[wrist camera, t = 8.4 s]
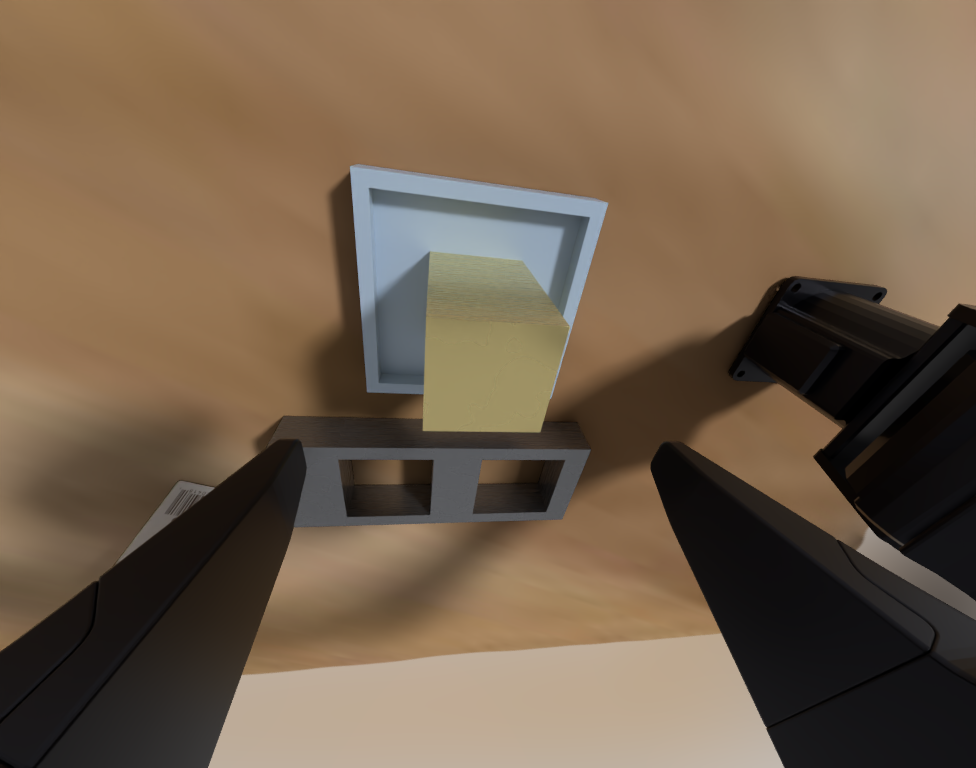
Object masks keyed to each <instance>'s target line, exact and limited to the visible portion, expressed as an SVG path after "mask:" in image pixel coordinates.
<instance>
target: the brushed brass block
mask: <svg viewBox="0 0 976 768" xmlns="http://www.w3.org/2000/svg"><path fill="white" fill-rule="evenodd" d="M569 329H570V326H569V324H568V323H567V322H566V320H565V319H564V317H563V316H562V315H561V313H560V312H559V311H558V309H557V308H556V306H555V305H554V304H553V302H552V301H551V299H550V298H549V297H548V295H547V294H546V293H545V291H544V290H543V288H542V287H541V286H540V284H539V283H538V281H537V280H536V279H535V277H534V276H533V275H532V273H531V272H530V270H529V269H528V268H527V266H526V265H525V263H524V262H523V261H522V260H512V259H502V258H492V257H482V256H472V255H462V254H452V253H442V252H432V251H430V257H429V274H428V292H427V309H426V334H425V368H424V402H423V431H464V432H541V428H542V425H543V421H544V418H545V414H546V411H547V407H548V403H549V400H550V396H551V393H552V389H553V386H554V382H555V379H556V375H557V372H558V368H559V365H560V361H561V358H562V354H563V350H564V347H565V343H566V340H567V336H568V333H569Z"/></svg>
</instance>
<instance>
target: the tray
mask: <svg viewBox="0 0 976 768" xmlns="http://www.w3.org/2000/svg"><path fill="white" fill-rule="evenodd" d="M350 173H351V186H352V200H353V213H354V226H355V239H356V252H357V266H358V279H359V292H360V305H361V318H362V332H363V345H364V358H365V371H366V384H367V392H372V393H401V394H424V368H425V334H426V309H427V292H428V274H429V257H430V251H432V252H442V253H452V254H462V255H472V256H482V257H492V258H502V259H512V260H522V261H523V262H524V263H525V265H526V266H527V268H528V269H529V270H530V272H531V273H532V275H533V276H534V277H535V279H536V280H537V281H538V283H539V284H540V286H541V287H542V288H543V290H544V291H545V293H546V294H547V295H548V297H549V298H550V299H551V301H552V302H553V304H554V305H555V306H556V308H557V309H558V311H559V312H560V313H561V315H562V316H563V317H564V319H565V320H566V322H567V323H568V324H569V326H570V329H569V333H568V336H567V340H566V343H565V347H564V350H563V354H562V358H561V361H560V365H559V368H558V372H557V375H556V379H555V382H554V386H553V389H552V393H551V396H550V399H551V397H552V394H553V390H554V387H555V384H556V380H557V377H558V373H559V370H560V367H561V363H562V360H563V356H564V353H565V349H566V346H567V343H568V339H569V336H570V332H571V329H572V325H573V322H574V319H575V315H576V312H577V308H578V305H579V301H580V298H581V295H582V291H583V288H584V284H585V281H586V278H587V274H588V271H589V267H590V264H591V260H592V257H593V254H594V250H595V247H596V243H597V240H598V236H599V233H600V230H601V226H602V223H603V219H604V216H605V212H606V209H607V206H608V203H607V202H604V201H601V200H598V199H596V198H590V197H583V196H576V195H569V194H562V193H555V192H548V191H542V190H535V189H528V188H521V187H514V186H507V185H500V184H493V183H486V182H479V181H472V180H465V179H458V178H451V177H444V176H437V175H430V174H423V173H416V172H410V171H403V170H396V169H389V168H382V167H375V166H368V165H361V164H356V165H353V166H350Z"/></svg>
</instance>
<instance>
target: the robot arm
mask: <svg viewBox="0 0 976 768" xmlns="http://www.w3.org/2000/svg"><path fill="white" fill-rule="evenodd" d="M792 287H793V288H792ZM886 293H887V289H886V288H883V287H880V286H877V285H869V284H860V283H851V282H842V281H834V280H825V279H816V278H807V277H799V276H793V277H790V278H788V279H787V280H786V281H785V282H784V283H783V284H782V286H781V288H780V289H779V291H778V292H777V294H776V296H775V297H774V299H773V301H772V302H771V304H770V305H769V307H768V309H767V310H766V312H765V314H764V315H763V317H762V318H761V320H760V322H759V323H758V325H757V327H756V328H755V330H754V331H753V333H752V335H751V336H750V338H749V340H748V341H747V343H746V345H745V346H744V348H743V349H742V351H741V353H740V354H739V356H738V358H737V359H736V361H735V362H734V364H733V366H732V367H731V369H730V371H729V376H730V377H731V378H733V379H734V380H736V381H755V382H775V383H779V384H780V385H782V386H783V387H784V388H786V389H787V390H789V391H790V392H791V393H793V394H794V395H796V396H797V397H799V398H800V399H801V400H803V401H804V402H806V403H807V404H808V405H810V406H811V407H813V408H814V409H816V410H817V411H818V412H820V413H821V414H823V415H824V416H825V417H827V418H828V419H830V420H831V421H833V422H834V423H835V424H837V425H838V426H840V427H841V428H842V430H841V431H840V432H839V433H838V434H837V435H836V436H835V437H834V438H833V439H832V440H831V441H830V442H829V443H828V444H827V446H826V447H825V448H824V449H820V450H819V451H818V452H817V453H816V454H815V455H814V456H813V457H814V459H815V460H816V461H817V463H818V464H819V465H820V466H821V468H822V469H823V470H824V471H825V473H826V474H827V475H828V476H829V478H830V479H831V480H832V481H833V483H834V484H835V485H836V486H837V488H838V489H839V490H840V491H841V493H842V494H843V495H844V496H845V498H846V499H847V500H848V501H849V503H850V504H851V505H852V506H853V508H854V509H855V510H856V511H857V513H858V514H859V515H860V516H861V518H862V519H863V520H864V521H865V522H866V524H867V525H868V526H869V527H870V528H871V530H872V531H873V532H874V533H875V534H876V535H877V536H878V537H879V538H880V539H882V540H883V541H885V542H887V543H889V544H890V545H892V546H893V547H894V548H896V549H897V550H899V551H900V552H901V553H902V554H903V555H904V556H906V557H908V558H909V559H911V560H913V561H915V562H917V563H918V564H920V565H922V566H924V567H925V568H927V569H929V570H931V571H933V572H934V573H936V574H938V575H939V576H941V577H942V578H944V579H945V580H947V581H948V582H950V583H951V584H953V585H954V586H956V587H957V588H959V589H960V590H961V591H963V592H965V593H966V594H967V595H969V596H970V597H971V598H973V599H974V600H975V601H976V306H973V305H967V304H958V305H957V306H956V307H955V308H954V309H953V310H952V311H951V312H950V313H949V314H948V315H947V316H948V317H949V318H948V319H947V320H946V322H945V323H944V324H943V325H942V326H941V327H939V326H937V325H934V324H931V323H928V322H926V321H923V320H920V319H918V318H915V317H912V316H909V315H907V314H904V313H901V312H899V311H896V310H893V309H890V308H888V307H885V306H882V305H880V304H879V303H880V302H881V301H882V299H883V298H884V297H885V295H886ZM306 471H307V465H306V460H305V455H304V451H303V447H302V443H301V441H300V440H299V439H291V438H282V439H278V440H276V441H275V442H274V443H272V444H271V445H270V446H269V447H267V448H266V449H265V450H263V451H262V452H261V453H260V454H258V455H257V456H256V457H254V458H253V459H252V460H250V461H249V462H248V463H247V464H245V465H244V466H243V467H241V468H240V469H239V470H237V471H236V472H235V473H234V474H232V475H231V476H230V477H228V478H227V479H226V480H225V481H223V482H222V483H221V484H219V485H218V486H217V487H215V488H214V489H213V490H212V491H210V492H209V493H208V494H206V495H205V496H204V497H203V498H201V499H200V500H199V501H197V502H196V503H195V504H193V505H192V506H191V507H190V508H188V509H187V510H186V511H184V512H183V513H182V514H181V515H179V516H178V517H177V518H175V519H174V520H173V521H171V522H170V523H169V524H168V525H166V526H165V527H164V528H162V529H161V530H160V531H159V532H157V533H156V534H155V535H153V536H152V537H151V538H149V539H148V540H147V541H146V542H144V543H143V544H142V545H140V546H139V547H138V548H137V549H135V550H134V551H133V552H131V553H130V554H129V555H127V556H126V557H125V558H124V559H122V560H121V561H120V562H118V563H117V564H116V565H115V566H113V567H112V568H111V569H109V570H108V571H107V572H105V573H104V574H103V575H102V576H100V578H99V581H94V582H92V583H91V584H90V585H88V586H87V587H86V588H84V589H83V590H82V591H81V592H79V593H78V594H77V595H75V596H74V597H73V598H72V599H70V600H69V601H68V602H66V603H65V604H64V605H62V606H61V607H60V608H58V609H57V610H56V611H54V612H53V613H52V614H50V615H49V616H48V617H46V618H45V619H44V620H42V621H41V622H40V623H38V624H37V625H36V626H34V627H33V628H32V629H30V630H29V631H28V632H26V633H25V634H24V635H22V636H21V637H20V638H18V639H17V640H16V641H14V642H13V643H11V644H10V645H9V646H7V647H6V648H4V649H3V650H2V651H0V768H208V766H209V763H210V761H211V758H212V755H213V752H214V749H215V747H216V744H217V741H218V738H219V736H220V733H221V730H222V727H223V725H224V722H225V719H226V716H227V713H228V711H229V708H230V705H231V703H232V700H233V697H234V694H235V692H236V689H237V686H238V683H239V680H240V678H241V675H242V672H243V670H244V667H245V664H246V661H247V659H248V656H249V653H250V650H251V648H252V645H253V642H254V639H255V637H256V634H257V631H258V628H259V626H260V623H261V620H262V617H263V615H264V612H265V609H266V606H267V603H268V601H269V598H270V595H271V592H272V590H273V587H274V584H275V581H276V579H277V576H278V573H279V570H280V568H281V565H282V562H283V559H284V557H285V554H286V551H287V548H288V545H289V542H290V539H291V535H292V531H293V527H294V523H295V519H296V515H297V511H298V506H299V502H300V498H301V494H302V489H303V485H304V481H305V477H306ZM651 472H652V475H653V478H654V481H655V484H656V486H657V489H658V492H659V495H660V497H661V500H662V503H663V506H664V509H665V511H666V514H667V517H668V519H669V522H670V524H671V527H672V529H673V531H674V533H675V536H676V538H677V540H678V542H679V544H680V546H681V548H682V550H683V553H684V555H685V557H686V559H687V561H688V563H689V565H690V567H691V570H692V572H693V574H694V576H695V578H696V580H697V582H698V584H699V587H700V589H701V591H702V593H703V595H704V597H705V599H706V601H707V604H708V606H709V608H710V610H711V612H712V614H713V616H714V618H715V621H716V623H717V625H718V627H719V629H720V631H721V633H722V635H723V637H724V640H725V642H726V644H727V646H728V648H729V650H730V652H731V654H732V657H733V659H734V660H735V663H736V665H737V667H738V669H739V672H740V673H741V676H742V678H743V680H744V682H745V684H746V686H747V689H748V691H749V693H750V695H751V697H752V699H753V701H754V703H755V706H756V708H757V710H758V712H759V714H760V716H761V718H762V720H763V722H764V724H765V726H766V727H767V732H768V734H769V736H770V738H771V740H772V742H773V744H774V747H775V749H776V751H777V753H778V755H779V757H780V759H781V761H782V764H783V766H784V767H785V768H976V620H974V619H972V618H970V617H969V616H967V615H965V614H963V613H962V612H960V611H958V610H956V609H955V608H953V607H951V606H949V605H948V604H946V603H944V602H942V601H941V600H939V599H937V598H935V597H933V596H932V595H930V594H928V593H926V592H925V591H923V590H921V589H920V588H918V587H916V586H914V585H913V584H911V583H909V582H907V581H906V580H904V579H902V578H901V577H898V576H897V575H895V574H894V573H892V572H890V571H889V570H887V569H885V568H884V567H882V566H880V565H878V564H877V563H875V562H874V561H872V560H870V559H869V558H867V557H865V556H864V555H862V554H861V553H859V552H857V551H856V550H854V549H852V548H851V547H849V546H848V545H846V544H844V543H843V542H841V541H839V540H836V539H835V538H834V537H833V536H831V535H830V534H828V533H827V532H825V531H823V530H822V529H820V528H818V527H817V526H815V525H814V524H812V523H810V522H809V521H807V520H806V519H804V518H802V517H801V516H799V515H798V514H796V513H794V512H793V511H791V510H789V509H788V508H786V507H785V506H783V505H781V504H780V503H778V502H777V501H775V500H773V499H772V498H770V497H769V496H767V495H765V494H764V493H762V492H760V491H759V490H757V489H756V488H754V487H752V486H751V485H749V484H748V483H746V482H744V481H743V480H741V479H739V478H738V477H736V476H735V475H733V474H731V473H730V472H728V471H727V470H725V469H723V468H722V467H720V466H719V465H717V464H715V463H714V462H712V461H710V460H709V459H707V458H706V457H704V456H702V455H701V454H699V453H698V452H696V451H694V450H693V449H691V448H690V447H688V446H686V445H685V444H683V443H681V442H678V441H665V442H663V443H662V444H661V445H660V447H659V449H658V451H657V452H656V454H655V456H654V458H653V460H652V461H651Z"/></svg>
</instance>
